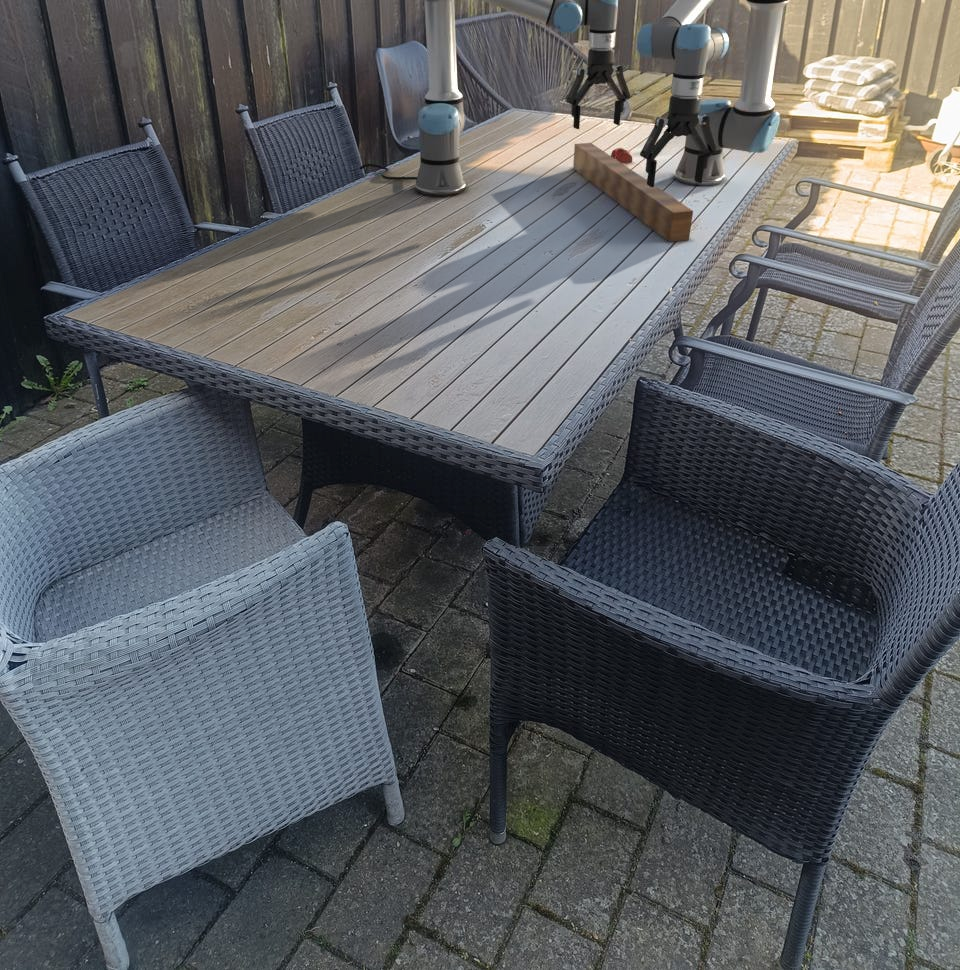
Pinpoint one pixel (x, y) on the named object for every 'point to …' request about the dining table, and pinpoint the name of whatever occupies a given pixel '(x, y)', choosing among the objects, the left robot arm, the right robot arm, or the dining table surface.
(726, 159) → the dining table surface
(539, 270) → the dining table surface
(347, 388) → the dining table surface
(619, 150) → the red rounded lump
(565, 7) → the left robot arm
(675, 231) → the beam
